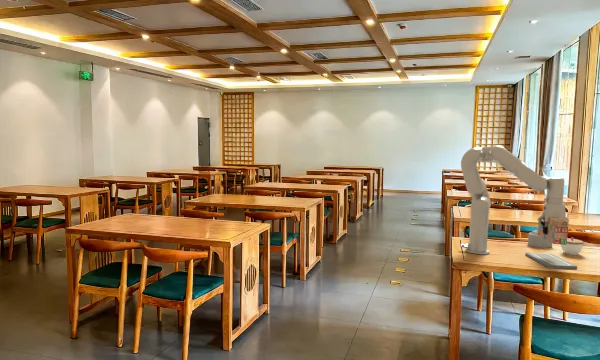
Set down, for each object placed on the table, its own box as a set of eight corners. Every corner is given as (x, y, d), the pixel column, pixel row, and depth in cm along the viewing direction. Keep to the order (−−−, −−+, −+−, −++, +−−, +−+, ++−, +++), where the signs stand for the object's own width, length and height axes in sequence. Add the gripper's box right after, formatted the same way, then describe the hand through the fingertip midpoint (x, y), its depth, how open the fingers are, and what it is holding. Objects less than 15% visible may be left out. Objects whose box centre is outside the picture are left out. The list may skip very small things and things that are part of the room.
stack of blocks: (537, 235, 231) (538, 213, 230) (549, 235, 230) (551, 213, 229) (553, 244, 210) (555, 220, 209) (567, 244, 209) (568, 220, 208)
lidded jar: (559, 250, 246) (561, 234, 245) (581, 252, 240) (582, 237, 240) (560, 254, 237) (561, 238, 236) (582, 257, 231) (584, 240, 230)
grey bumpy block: (554, 247, 252) (555, 233, 251) (533, 247, 251) (534, 233, 251) (543, 243, 263) (544, 229, 262) (523, 243, 262) (524, 229, 261)
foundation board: (548, 268, 209) (548, 265, 209) (525, 255, 233) (525, 252, 233) (577, 269, 209) (577, 266, 208) (550, 255, 232) (551, 253, 232)
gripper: (541, 201, 215) (539, 235, 216) (575, 202, 214) (573, 236, 215) (534, 199, 222) (531, 232, 224) (567, 200, 221) (564, 233, 223)
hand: (552, 233), depth 219 cm, fingers closed on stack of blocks, 6 cm apart
